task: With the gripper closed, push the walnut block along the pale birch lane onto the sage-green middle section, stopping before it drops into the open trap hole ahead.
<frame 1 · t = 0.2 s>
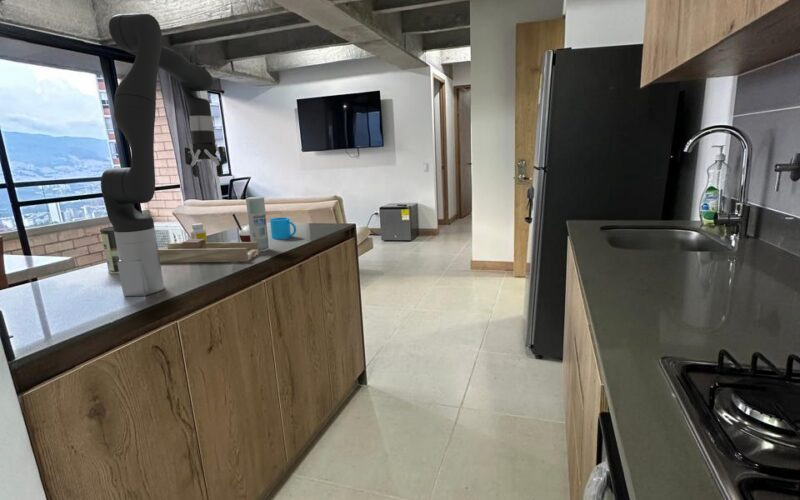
hand: (208, 176, 152), 28 cm above the countertop, tool pointing down, fingers open, 8 cm apart
mug: (285, 238, 184), on the countertop
spray can: (260, 250, 161), on the countertop
walnut block: (195, 252, 151), point 2 cm above the countertop, touching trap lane
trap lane: (207, 258, 151), on the countertop
coffee can: (127, 270, 139), on the countertop
cocoa: (247, 242, 176), on the countertop
supplement bottle: (200, 248, 167), on the countertop
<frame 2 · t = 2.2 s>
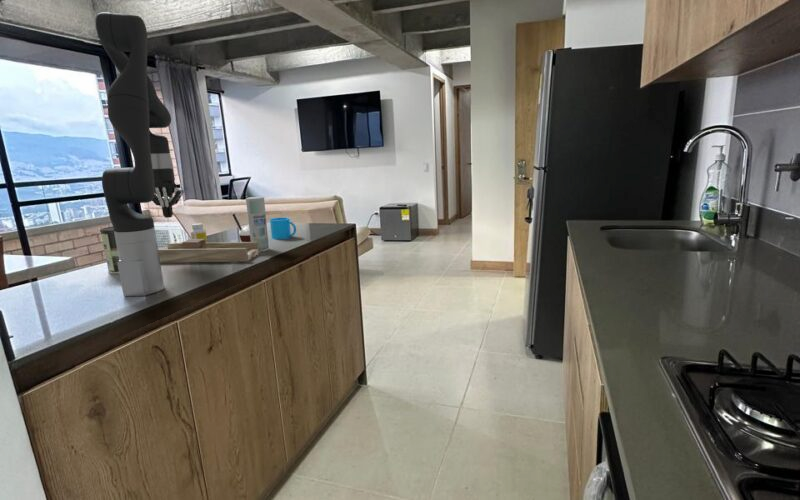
hand: (168, 217, 148), 15 cm above the countertop, tool pointing down, fingers closed
nothing on the countertop moved.
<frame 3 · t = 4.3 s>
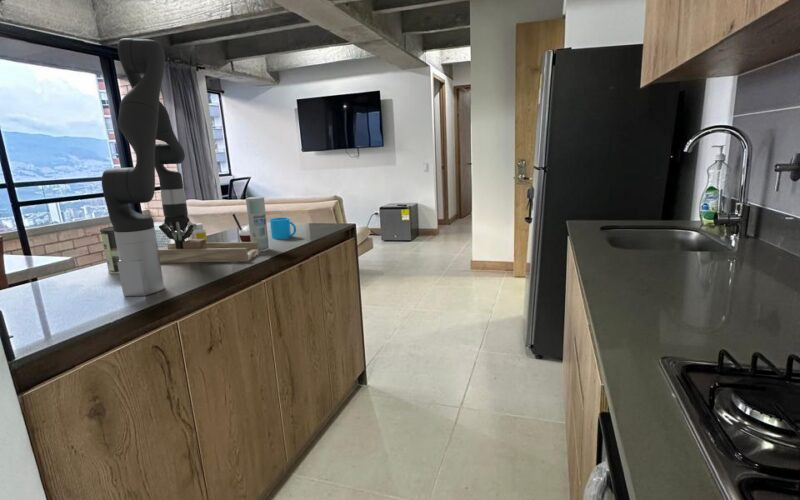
hand: (181, 250, 151), 3 cm above the countertop, tool pointing down, fingers closed
walnut block: (196, 252, 151), point 2 cm above the countertop, touching gripper
everything else where it was.
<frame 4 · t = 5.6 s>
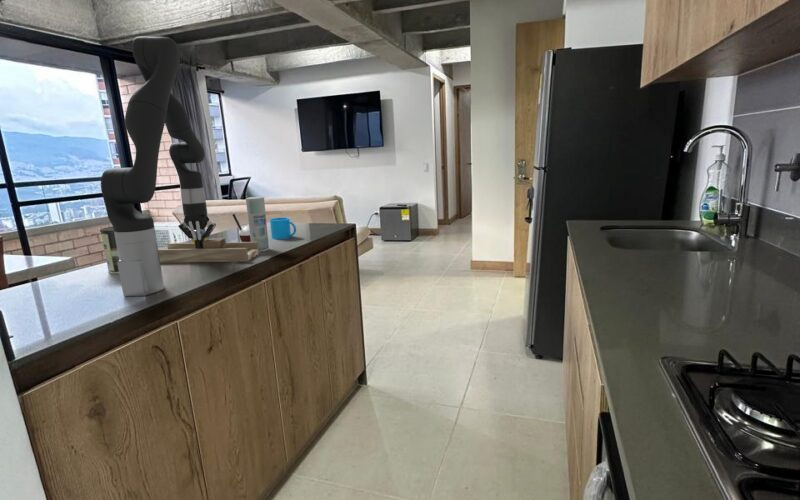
hand: (200, 249, 150), 3 cm above the countertop, tool pointing down, fingers closed
walnut block: (215, 252, 151), point 2 cm above the countertop, touching gripper, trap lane
everything else where it was.
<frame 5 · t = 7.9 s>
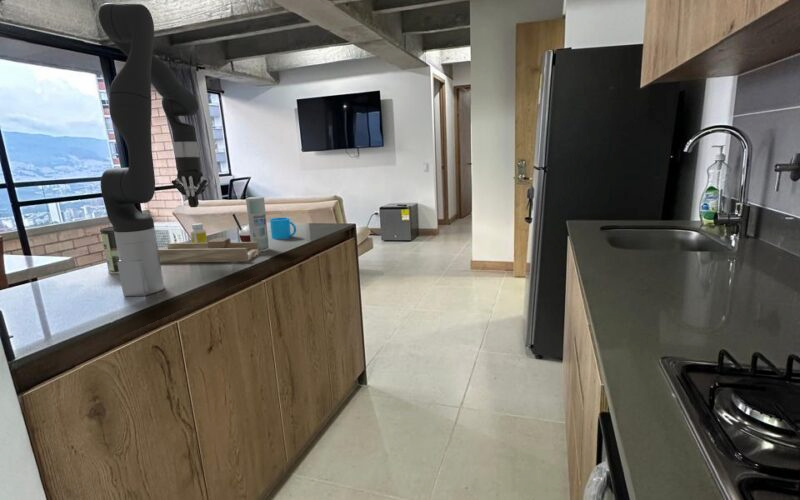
hand: (194, 207, 146), 18 cm above the countertop, tool pointing down, fingers closed
walnut block: (220, 252, 151), point 2 cm above the countertop, touching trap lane
everything else where it was.
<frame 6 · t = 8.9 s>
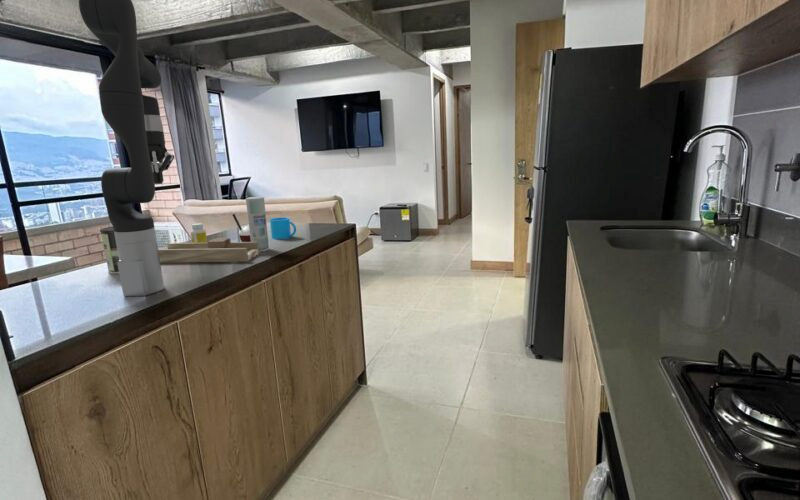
hand: (158, 183, 142), 27 cm above the countertop, tool pointing down, fingers closed
nothing on the countertop moved.
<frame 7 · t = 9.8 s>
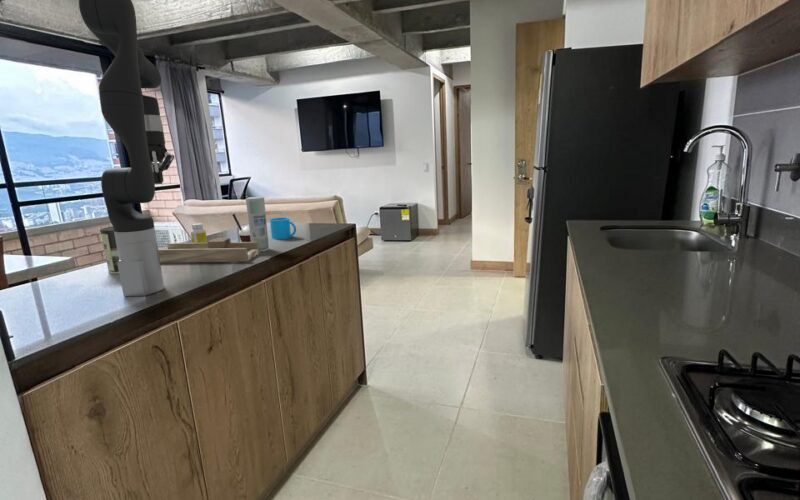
hand: (158, 183, 142), 27 cm above the countertop, tool pointing down, fingers closed
nothing on the countertop moved.
at the end: walnut block 0.8 cm from the target spot on the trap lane, point 2.0 cm above the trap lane's base; walnut block tilted 0° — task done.
